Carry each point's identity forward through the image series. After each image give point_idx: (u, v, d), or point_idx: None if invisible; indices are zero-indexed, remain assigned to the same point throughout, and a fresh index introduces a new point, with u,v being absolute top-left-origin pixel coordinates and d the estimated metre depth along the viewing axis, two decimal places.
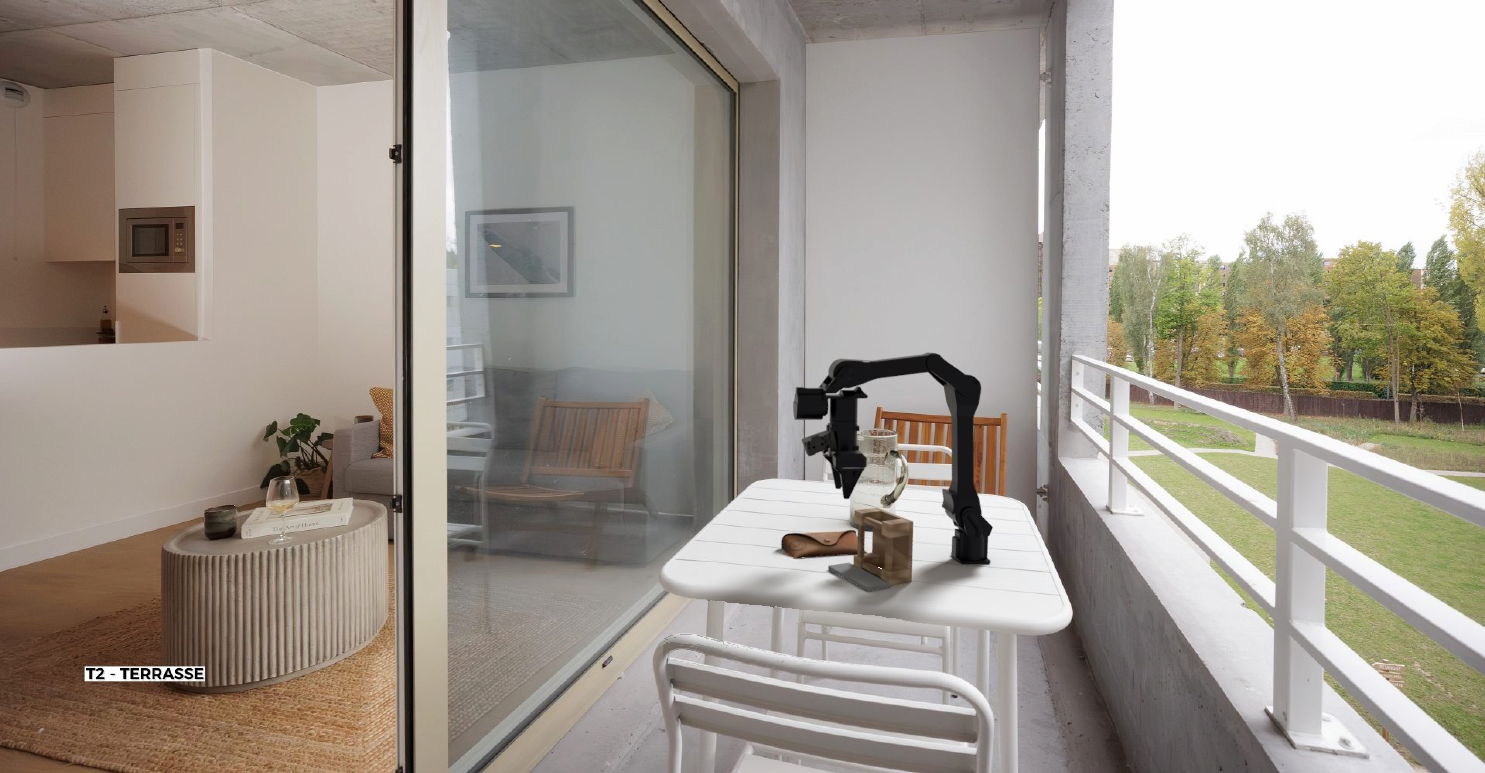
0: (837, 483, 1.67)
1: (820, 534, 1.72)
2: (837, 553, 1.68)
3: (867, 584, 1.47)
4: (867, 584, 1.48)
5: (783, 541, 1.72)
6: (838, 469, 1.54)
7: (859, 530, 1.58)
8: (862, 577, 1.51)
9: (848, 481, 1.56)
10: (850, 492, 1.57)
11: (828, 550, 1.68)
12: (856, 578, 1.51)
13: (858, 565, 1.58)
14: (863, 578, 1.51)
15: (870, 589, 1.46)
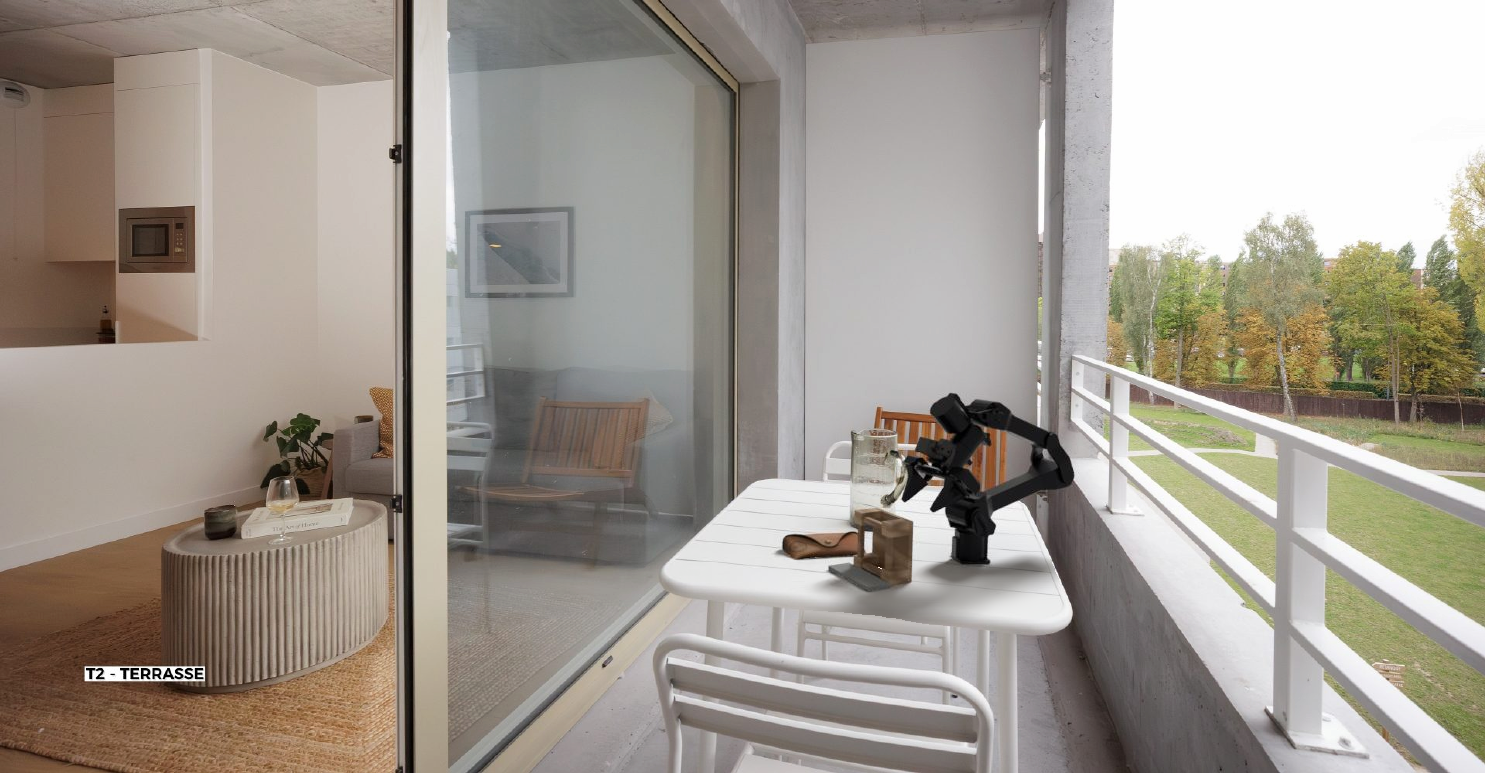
0: (906, 496, 1.63)
1: (821, 535, 1.71)
2: (838, 555, 1.67)
3: (867, 584, 1.47)
4: (867, 584, 1.48)
5: (784, 542, 1.71)
6: (955, 481, 1.52)
7: (859, 530, 1.58)
8: (862, 577, 1.51)
9: (946, 497, 1.54)
10: (939, 508, 1.54)
11: (828, 551, 1.67)
12: (856, 578, 1.51)
13: (858, 565, 1.58)
14: (863, 578, 1.51)
15: (870, 589, 1.46)
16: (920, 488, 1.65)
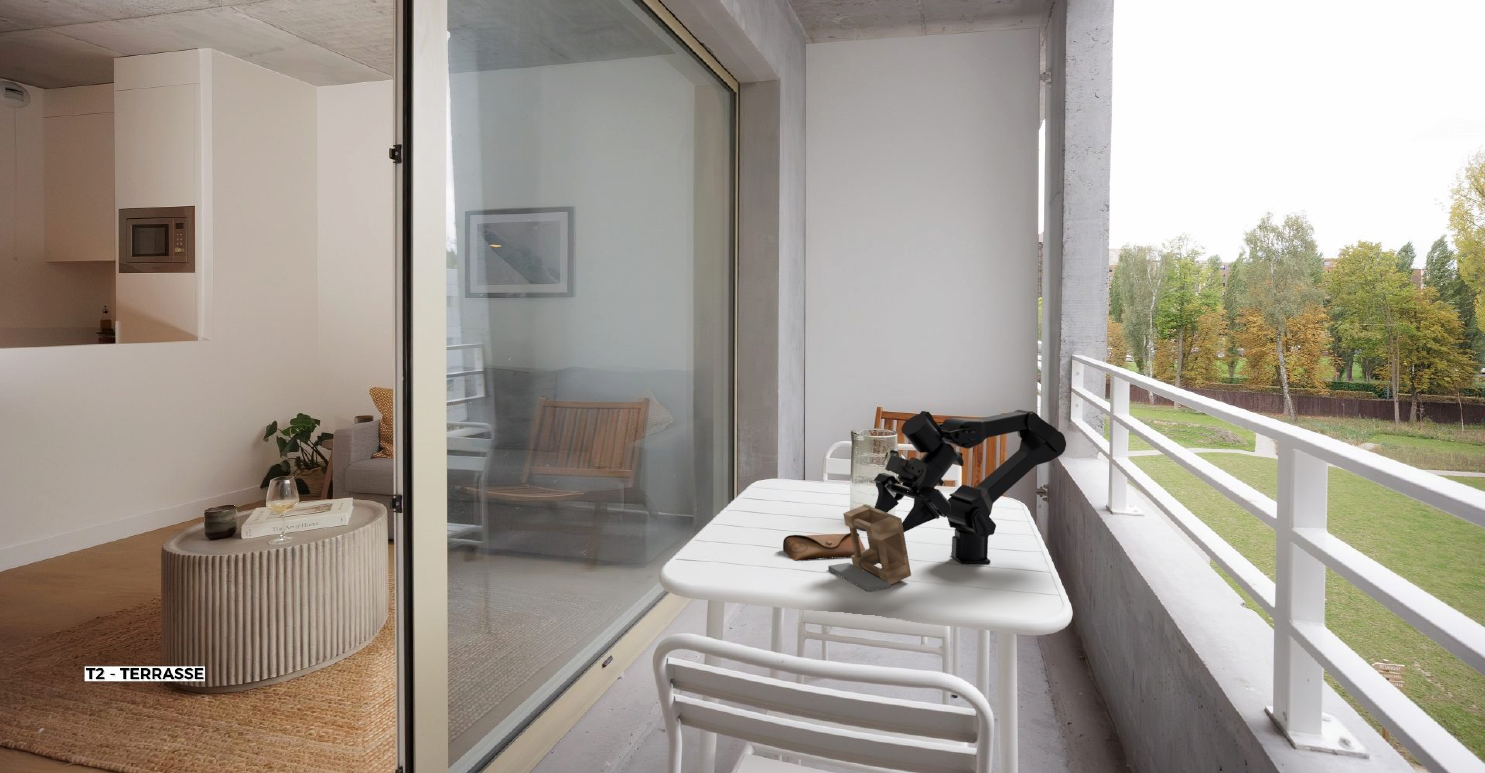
0: None
1: (822, 536, 1.70)
2: (839, 556, 1.66)
3: (867, 584, 1.47)
4: (867, 584, 1.48)
5: (784, 542, 1.70)
6: (925, 501, 1.49)
7: (851, 532, 1.57)
8: (862, 577, 1.51)
9: (916, 518, 1.51)
10: (908, 528, 1.51)
11: (829, 552, 1.66)
12: (856, 578, 1.51)
13: (857, 565, 1.58)
14: (863, 578, 1.51)
15: (870, 589, 1.46)
16: (890, 507, 1.61)
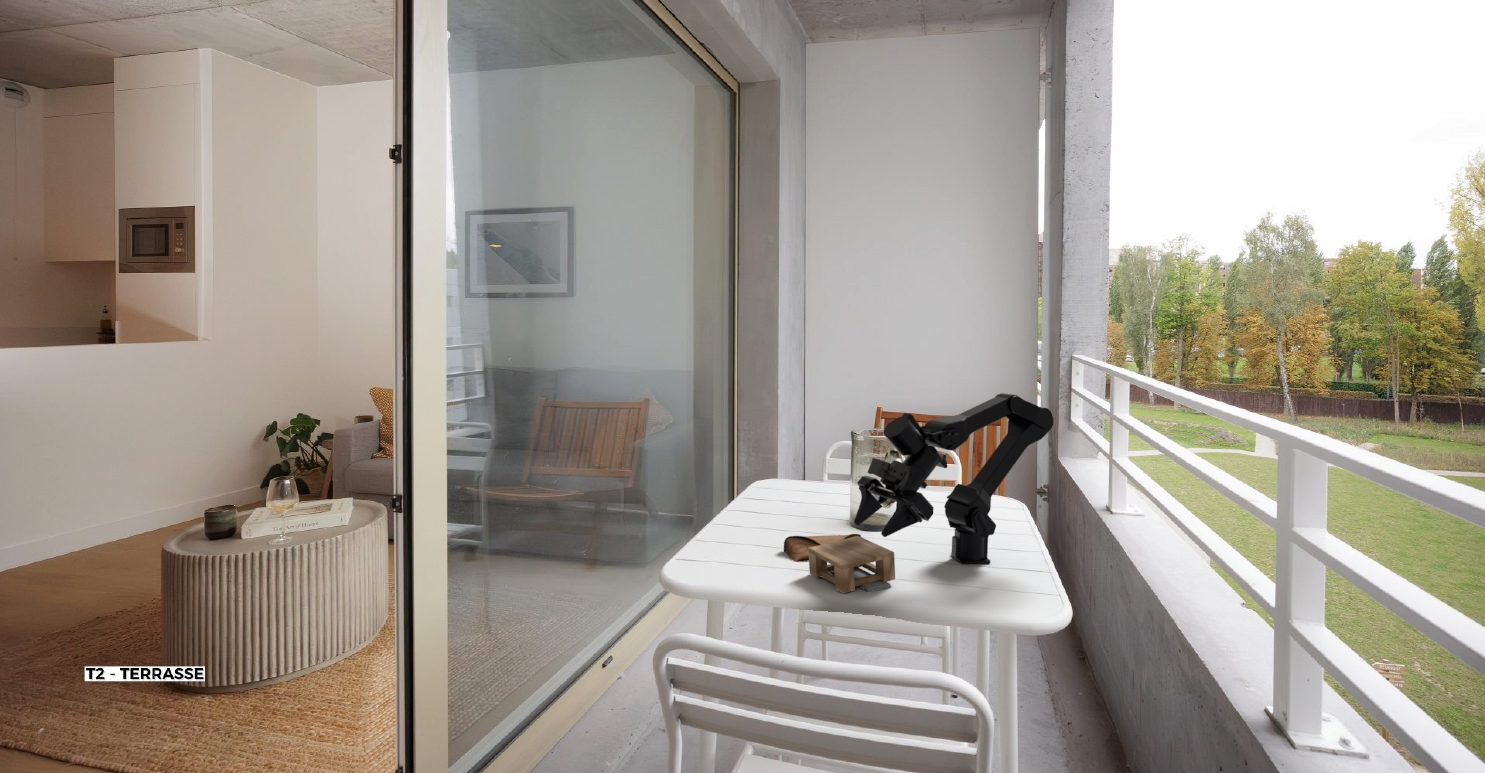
0: (859, 519, 1.58)
1: (823, 537, 1.69)
2: None
3: (867, 584, 1.47)
4: (867, 584, 1.48)
5: (785, 543, 1.70)
6: (907, 504, 1.47)
7: None
8: None
9: (898, 522, 1.49)
10: (891, 532, 1.49)
11: None
12: (856, 578, 1.51)
13: None
14: None
15: (870, 589, 1.46)
16: (874, 510, 1.60)
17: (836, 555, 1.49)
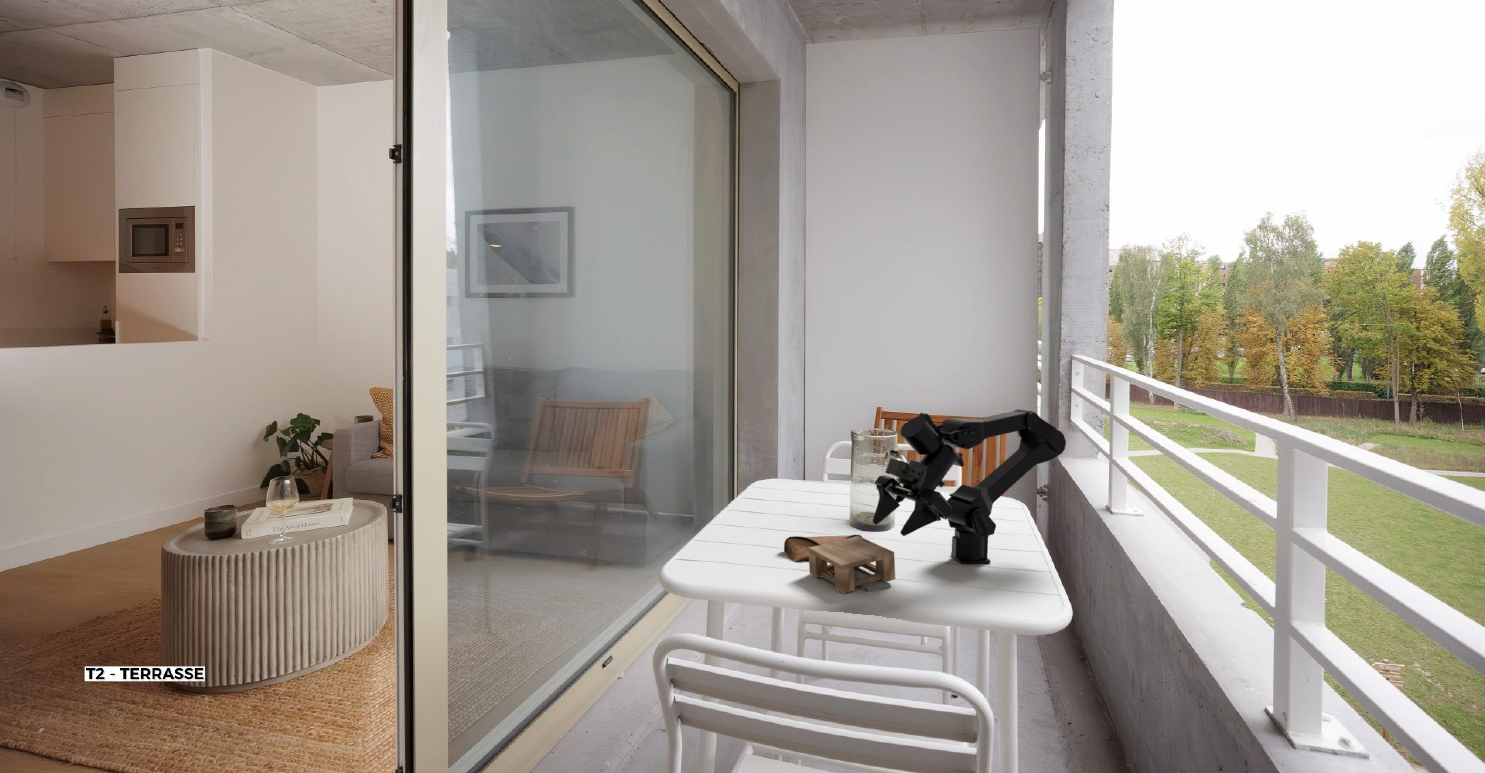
0: (877, 518, 1.60)
1: (823, 538, 1.69)
2: None
3: (867, 584, 1.47)
4: (867, 584, 1.48)
5: (785, 544, 1.70)
6: (926, 504, 1.49)
7: None
8: None
9: (917, 521, 1.51)
10: (910, 531, 1.51)
11: None
12: (856, 578, 1.51)
13: None
14: None
15: (870, 589, 1.46)
16: (892, 509, 1.62)
17: (836, 555, 1.49)
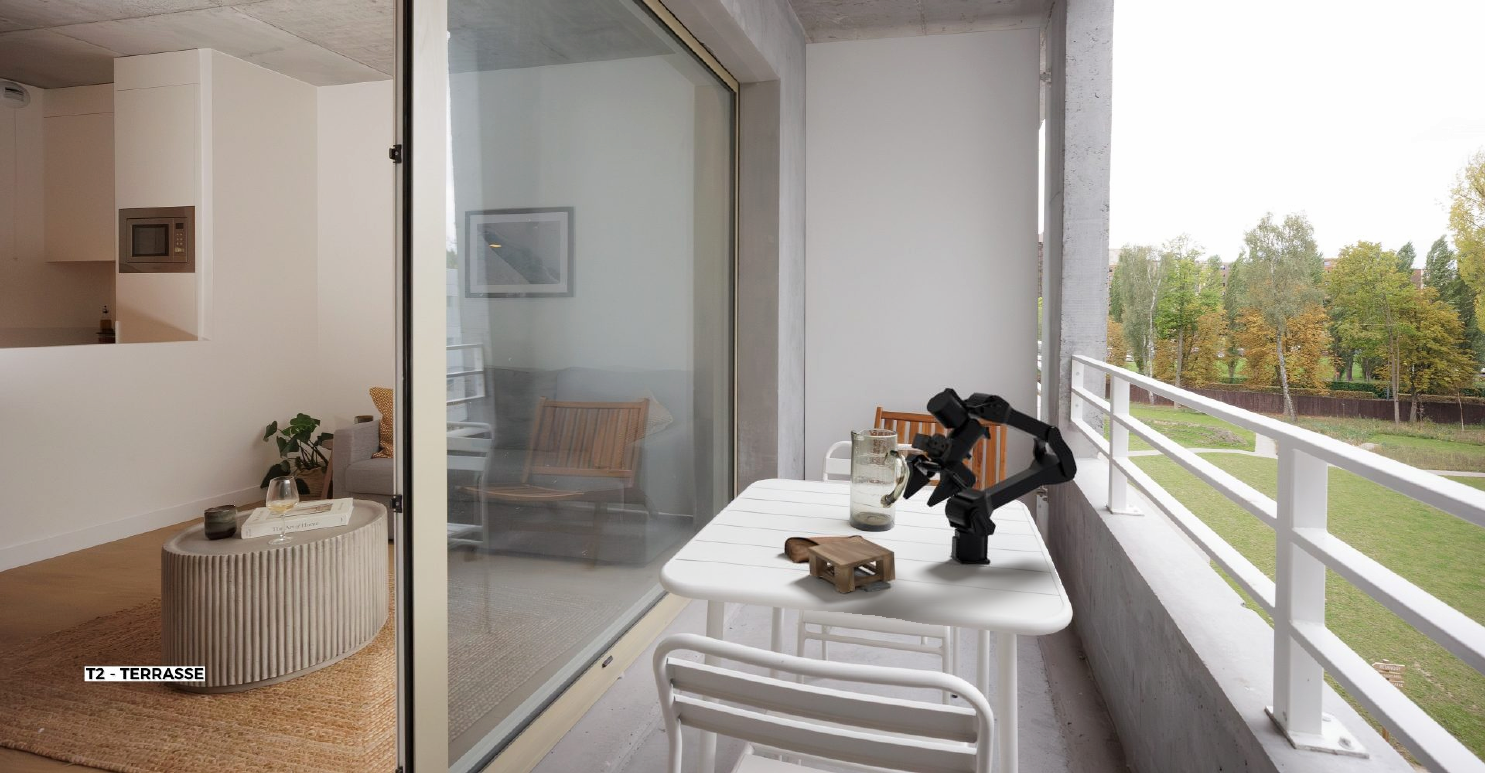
0: (907, 493, 1.63)
1: (824, 539, 1.68)
2: None
3: (867, 584, 1.47)
4: (867, 584, 1.48)
5: (786, 544, 1.69)
6: (949, 474, 1.52)
7: None
8: None
9: (943, 491, 1.54)
10: (936, 502, 1.55)
11: None
12: (856, 578, 1.51)
13: None
14: None
15: (870, 589, 1.46)
16: (922, 485, 1.65)
17: (836, 555, 1.49)
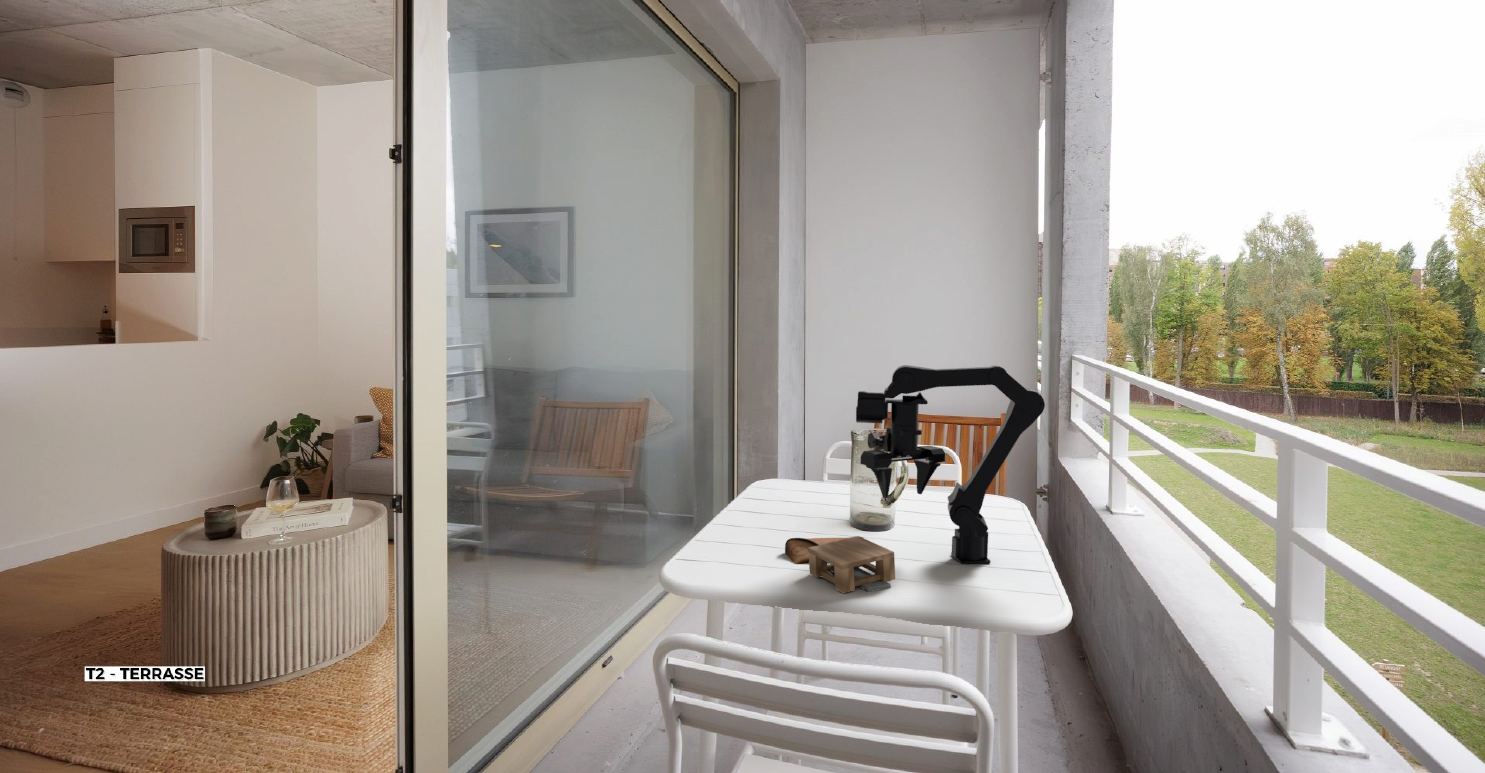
0: (918, 488, 1.70)
1: (824, 540, 1.67)
2: None
3: (867, 584, 1.47)
4: (867, 584, 1.48)
5: (786, 545, 1.68)
6: (866, 466, 1.66)
7: None
8: None
9: (881, 480, 1.65)
10: (884, 492, 1.65)
11: None
12: (856, 578, 1.51)
13: None
14: None
15: (870, 589, 1.46)
16: (926, 473, 1.68)
17: (836, 555, 1.49)
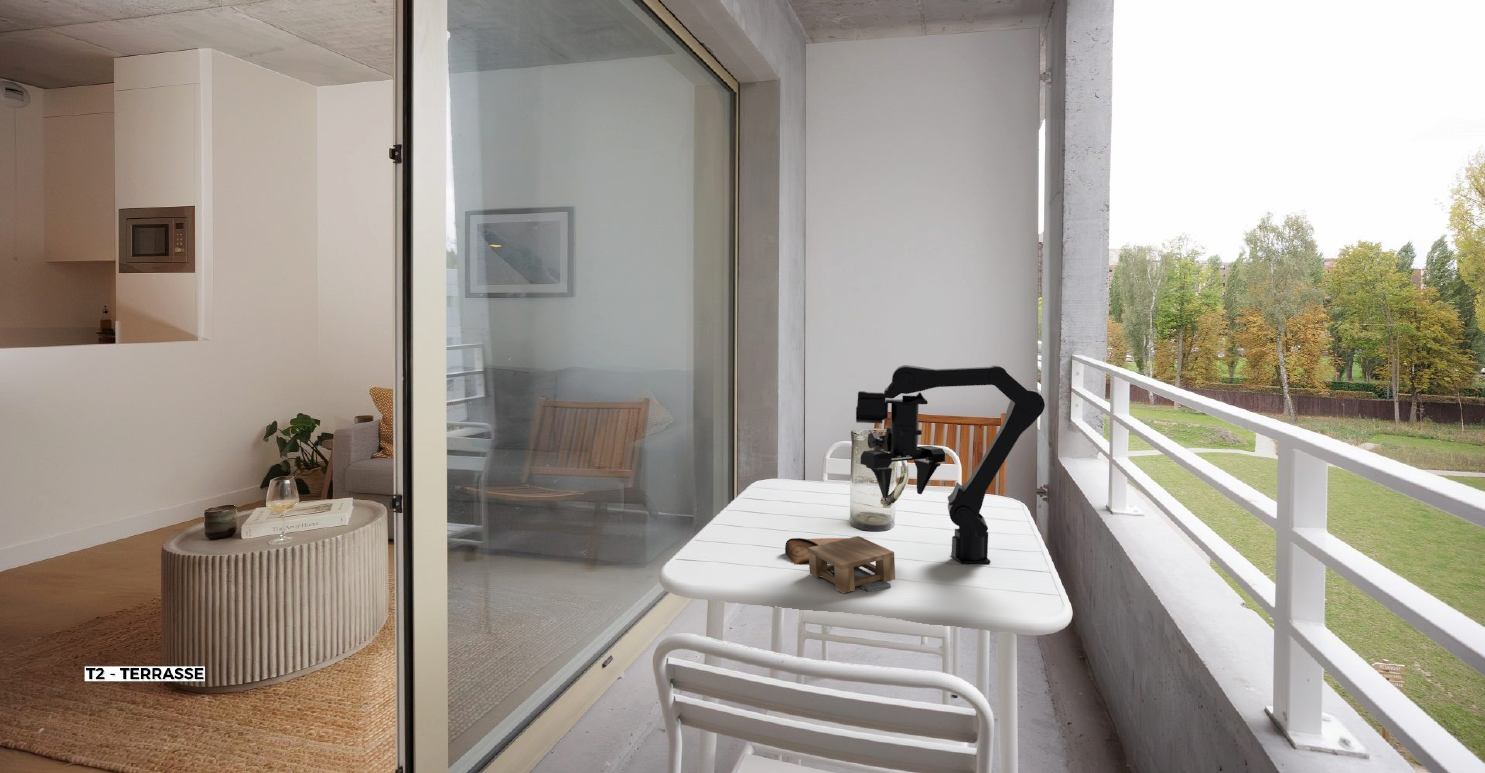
0: (918, 488, 1.70)
1: (824, 540, 1.67)
2: None
3: (867, 584, 1.47)
4: (867, 584, 1.48)
5: (786, 546, 1.68)
6: (866, 466, 1.66)
7: None
8: None
9: (881, 480, 1.65)
10: (884, 492, 1.65)
11: None
12: (856, 578, 1.51)
13: None
14: None
15: (870, 589, 1.46)
16: (926, 473, 1.68)
17: (836, 555, 1.49)
